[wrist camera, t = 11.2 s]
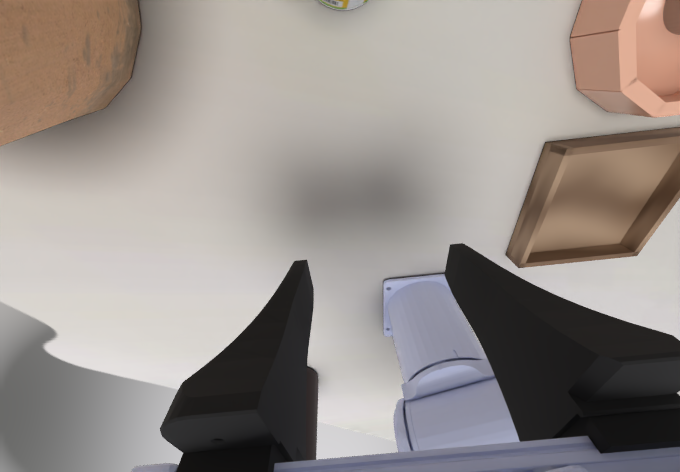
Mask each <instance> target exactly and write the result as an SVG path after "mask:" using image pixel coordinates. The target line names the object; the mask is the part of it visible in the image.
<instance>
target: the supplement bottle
mask: <svg viewBox="0 0 680 472" xmlns="http://www.w3.org/2000/svg"><path fill="white" fill-rule="evenodd" d="M318 1H319V2H321V3H322V4H324V5H325V6H327V7H330V8H332V9H336V10H351V9H355V8H357V7H360V6H362V5H363V4H365V3H366V2H367V1H369V0H318Z"/></svg>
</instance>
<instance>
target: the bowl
mask: <svg viewBox="0 0 680 472" xmlns="http://www.w3.org/2000/svg"><path fill="white" fill-rule="evenodd" d="M665 1H666V0H582V3H581V6H580V9H579V12H578V15H577V18H576V21H575V24H574V27H573V30H572V33H571V36H570V37H572V38H570V43H571V51H572V58H573V66H574V73H575V80H576V88H577V90H578V91H580V92H581V93H582V94H584V95H585V96H586V97H588V98H589V99H591V100H592V101H593V102H595V103H596V104H597V105H599V106H600V107H602V108H603V109H604V110H606V111H607V112H615V113H622V114H630V115H638V116H646V117H654V118H655V117H664V116H673V115H680V35H676V34H673V33H671V32H669V31H668V30H667V29H666V27H665V25H664V21H663V10H664V5H665Z"/></svg>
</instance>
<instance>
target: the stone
mask: <svg viewBox="0 0 680 472" xmlns="http://www.w3.org/2000/svg"><path fill="white" fill-rule="evenodd" d="M663 21H664V25H665V27H666V29H667V30H668V31H669V32H671V33H673V34H676V35H680V0H666V1H665V5H664V10H663Z"/></svg>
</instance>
